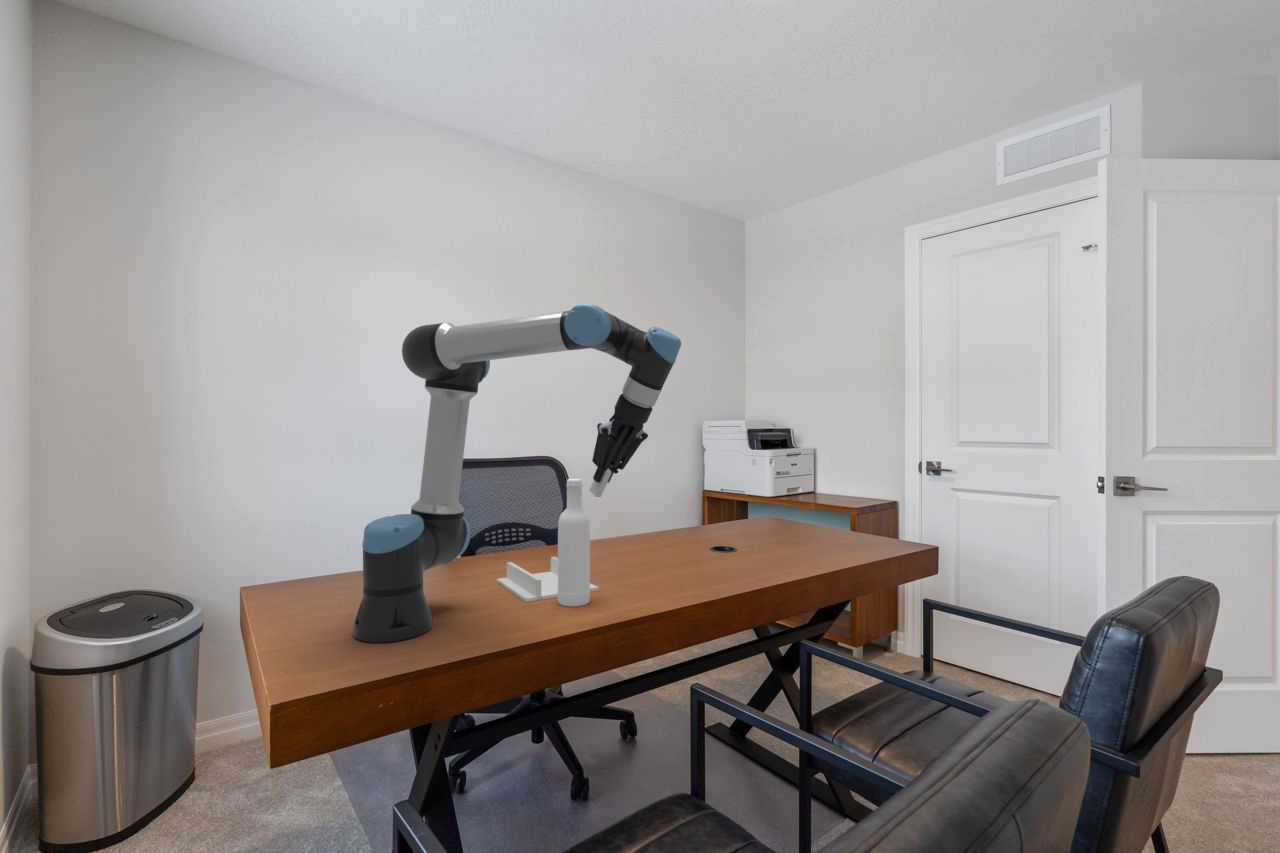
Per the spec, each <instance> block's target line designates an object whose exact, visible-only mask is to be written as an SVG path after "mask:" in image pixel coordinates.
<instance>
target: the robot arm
mask: <svg viewBox="0 0 1280 853" xmlns="http://www.w3.org/2000/svg"><path fill="white" fill-rule="evenodd" d="M681 347H682V341H681V338H679V337H678V336H677V335H676V334H674V333H672V332H670V331H668V330H665V329H663V328H661V327H658V326H651V327H649V329H648V331H643V330H641V329H639V328H638V327H636V326H634V325H631V324H630V323H628V322H626V321H624V320H623V319H621V318H619V317H617V316H616V315H614V314H611V313H609V312H608V311H606V310H604V309H603V308H602V307H601V306H600V307H599V306H598V305H595V304H590V303H579V304H576V305H575V306H573V307H572V308H570V310H565V311H557V312H551V313H545V314H537V315H529V316H522V317H521V316H520V317H515V318H508V319H507V318H506V319H500V320H493V321H484V322H478V323H470V324H464V325H456V326H455V325H454V324H453V323H451V322H440V323H431V324H426V325H420V326H418V327H415V328H414V329H413V330H411V331H410V332H409V333H408V334H407V335H406V336H405V338H404V340H403V342H402V347H401V355H402V360H403V362H404V364H405V366H406V367H407V369H408V370H409V371H410V372H411V373H413V374H414V375H415V376H417V377H419V378H421V379H424V380H425V382H424V388H425V390H426V391H427V392H428V393H429V395H430V403H429V409H428V410H429V411H428V419H427V428H426V438H425V445H424V455H423V465H422V473H421V474H422V475H421V481H420V482H421V483H420V492H419V499H418V500H417V501H415V503H413V504H412V505H411V509H410V513H405V514H394V515H387V516H383V517H380V518H378V519H374V520H373V521H370V522H369V523H368V524H367V525H366V526H365V528H364V531H363V540H362V542H361V543H362V545H361V546H362V584H363V587H362V588H363V589H362V590H363V591H362V598H361V601H360V604H359V608H358V611H357V613H356V617H355V620H354V623H353V637H354V638H355V639H357V640H359V641H361V642H366V643H367V642H368V643H391V642H397V641H405V640H409V639H413V638H416V637H418V636H421V635H423V634H425V633H427V632H428V631H429V630H430V629H431V628H432V626H433V622H432V621H433V620H432V618H433V617H432V612H431V611H430V609H429V608H430V607H429V603H428V601H427V598H426V595H425V592H424V571H428V570H431V569H432V568H435V567H438V566H441V565H442V566H443V565H446V564H448V563H450V562H451V563H452V561H453V560H455V559H457V558H459V557H460V556H462V554H463V553H464V552H465V551H466V550H467V548H468V545H469V543H470V540H471V527H470V524H469V523H468V522H467V519H466V516H464V515H465V513H464V512H465V508H464V507H463V506H462V504H461V503H460V502H459V499H460V498H459V497H460V489H461V482H462V481H461V480H462V472H463V464H464V463H463V462H464V454H465V444H466V439H467V438H466V437H467V430H468V428H467V427H468V418H469V412H470V403H471V402H470V401H471V400H472V399H473V398H474V397H475V396H477V394H478V392H479V384H480V383H481V382H483V380H484V379H485V378H487V375H488V374H489V371H490V367H491V361H493V360H502V359H510V358H511V359H512V358H516V357H517V358H518V357H526V356H527V357H528V356H534V355H541V354H549V353H550V354H551V353H558V352H566V351H567V352H568V351H578V350H585V349H594V350H596V351H599V352H602V353H606V354H608V355H610V356H612V357H613V358H616V359H617V360H619V361H621V362H623V363H625V364H627V365H630V366H631V369H630V371H629V373H628V376H627V379H625V380H626V381H625V383H624V385H623V388H622V391H621V392H622V393H621V394H619V397H618V399H617V401H616V403H615V405H614V412H613V415H612V416H611V417H610V418H609V421H607V422H606V423H604V424H603V423H602V422H599V423H597V426H596V427H597V428H596V429H597V436H596V441H595V446H594V450H593V456H592V463H593V464H594V465H595V466H596V467H597V468H596V470H595V473H594V474H593V476H592V477H593V478H592V479H593V481H592V484H591V486H590V488H589V492H590V493H591V494H592V495H593V496H594V497H595V498H602V495H603V492H604V491H605V489H606V486H607V484H609V483H610V481H611V480H612V477H613V475H614V474H616V475H617V474H618V473H619V470H620V471H622V470H624V469H625V468H626V466H627V465H628V463H629V462H630V460H631V459H632V458H633V456H634V454H635V453H636V452H637V450H638V449H639V447H640V446H641V444H642V443H643V442H644V441H645V440H646V439H648V436H649V434H648V433H647V432H646V431H645V430H644V424H646V423H648V420H649V418H650V416H651V414H652V412H653V407H654V406H655V405H656V403H657V401H658V399H659V396H660V395H661V392H662V390H663V388H664V385H665V383H666V381H667V379H668V377H669V375H670V372H671V371H672V369H673V367H674V364H675V363H676V360H677V358H678V354H679V352H680V349H681Z"/></svg>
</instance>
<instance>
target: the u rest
mask: <svg viewBox="0 0 1280 853" xmlns="http://www.w3.org/2000/svg"><path fill="white" fill-rule="evenodd" d="M496 583H498V584H500V586H502V587H503V588H505V589H506V590H508V591H509V592H511V593H513V594H514V595H515V596H517V597H518V598H520V599H521V600H522V601H524V602H525V603H527V602H528V603H529V602H535V601H541V600H547V599H553V598H558V596H557V590H558V556H557V557H556V556H550V571H545V572H538V573H531V572H529V571H528V570H526V569H524V568H522V567H521V566H518V565H517V564H515V563H514V562H512V561H508V562H506V577H501V578H496ZM596 591H600V590H599V586H597V585H595V584H594V583H591V582H590V593H592V592H596Z"/></svg>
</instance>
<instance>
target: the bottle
mask: <svg viewBox="0 0 1280 853" xmlns="http://www.w3.org/2000/svg"><path fill="white" fill-rule="evenodd" d="M582 481H583V479H581V478H568V479H567V480H566V485H565V486H566V508H565V509H564V510H563V511H562V513H560V516H559V518H558V522H557V558H558V590H557V596H558V597H557V603H558V604H559V605H561V606H563V607H582V606H585V605H588V604H589V603H590V601H591V592H590V583H591V520H590V516H589V514H588V512H587V511H586V510H585V509H584V508H583V507H582V506H583V505H582V504H583V500H582V499H583V492H582V491H583V490H582V489H583V483H582Z"/></svg>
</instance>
